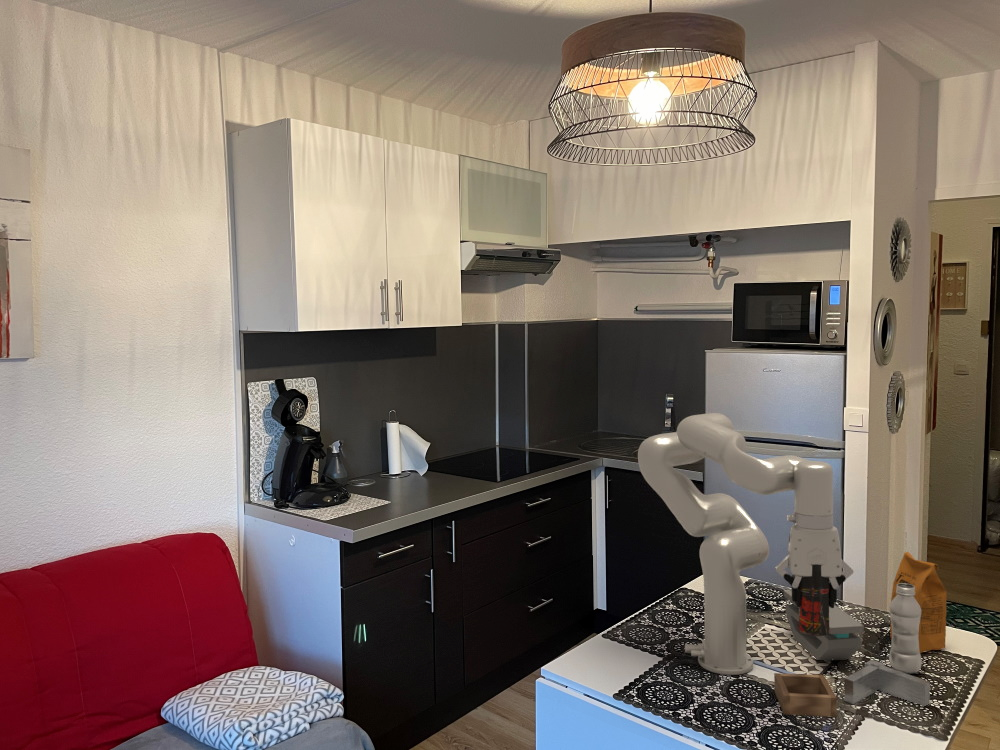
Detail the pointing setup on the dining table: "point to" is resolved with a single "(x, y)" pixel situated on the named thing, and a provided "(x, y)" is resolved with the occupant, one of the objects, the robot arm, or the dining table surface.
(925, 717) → the dining table surface
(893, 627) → the plastic bottle
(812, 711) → the block
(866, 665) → the v block
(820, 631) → the deodorant
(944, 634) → the coffee package
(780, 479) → the robot arm
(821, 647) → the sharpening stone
